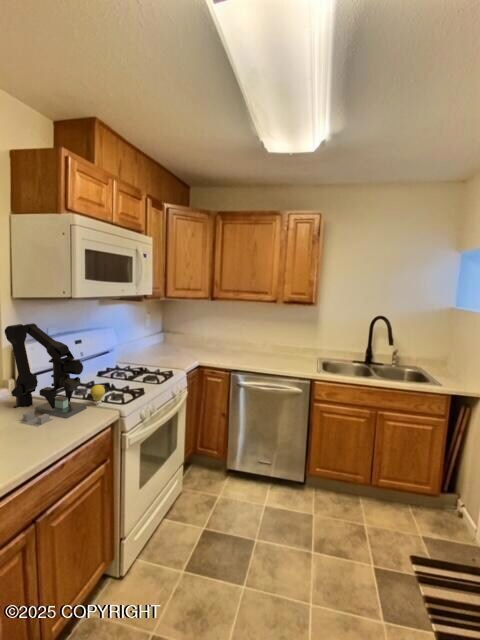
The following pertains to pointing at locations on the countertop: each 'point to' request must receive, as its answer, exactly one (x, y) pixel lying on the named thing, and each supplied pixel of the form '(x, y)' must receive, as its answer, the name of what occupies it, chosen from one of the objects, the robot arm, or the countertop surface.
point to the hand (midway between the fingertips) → (61, 404)
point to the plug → (61, 402)
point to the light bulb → (97, 393)
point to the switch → (59, 412)
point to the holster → (35, 419)
